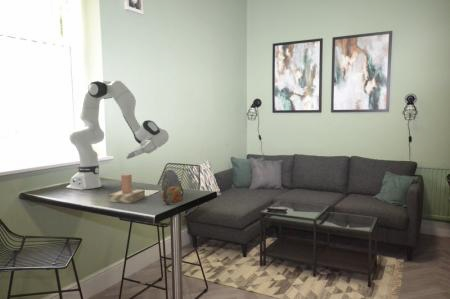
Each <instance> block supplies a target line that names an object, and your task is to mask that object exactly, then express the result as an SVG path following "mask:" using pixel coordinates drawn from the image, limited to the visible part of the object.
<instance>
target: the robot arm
mask: <svg viewBox="0 0 450 299" xmlns="http://www.w3.org/2000/svg"><path fill="white" fill-rule="evenodd" d="M107 99H113V100H114V101H115V103H116V104H117V106H118V107H119V110H120V111H121V114H122V116H123V118H124V120H125V122H126V124H127V125H128V127H129V129H130V130H131V132H132V134H133V138H134V140H135V141H136V143H138V144H139V145H140V146H138V147H136V148H134V149H133V150H130V151H129V152H128V153H127V155H126V156H125V159H126V160H129V159H133V158H135V157H138V156H139V155H143V154H147V155H148V154H151V153H154V151H156V150H157V149H158V148H160V147H162V146H164V145H165V144H166V143H167V142H168V141H169V139H170V138H169V136H170V135H169V133H168V131H167V130H166V129H164V128H161V127H159V126H158V125H157V124H156V123H155V122H154V121H153V120H150V119H149V120H148V119H147V120H144V121H143V122H142V124H140V123H139V122H138V120H137V118H136V115H135V109H136V105H137V104H136V103H137V100H136V98H135V96H134V94H133V92H132V91H131V90H130V89H129V88H128V86H126V85H125V83H123V82H122V81H121V80H113V81H108V80H94V81H91V82H89V84H88V85H87V89H86V90H85V91H84V92H83V94H82V98H81V101H80V102H81V103H80V114H79V118H80V119H81V121H83V124H84V127H83V128H76V129H74V130H72V131H71V132H70V134H69V140H70V143H71V144H72V145H73V146H74V147H75V148H76V149H77V152H78V155H79V157H78V158H79V165H80V166H79V167H76V169H77V171H78V172H76V173H75V174H74V175H73V176H71V178H70V180H69V184H68V185H67V186H65V187H66V189H73V190H81V191H82V190H89V189H90V190H91V189H96V188H97V189H98V188H101V187H102V182H101V177H100V166H99V159H98V153H97V152H96V151H95V150H94V149H93V146H92V145H96V144H98V143H100V142H103V140H104V139H105V132H104V130H103V129H102V128H101V126H100V122H99V120H100V119H99V117H100V116H99V113H100V103H101V100H107Z"/></svg>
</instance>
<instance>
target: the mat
mask: <svg viewBox="0 0 450 299" xmlns="http://www.w3.org/2000/svg"><path fill="white" fill-rule="evenodd" d="M144 190H145V197H151V196H153V195H154V194H157V193H160V190H156V189H155V190H153V189H144Z"/></svg>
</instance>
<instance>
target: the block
mask: <svg viewBox="0 0 450 299" xmlns="http://www.w3.org/2000/svg"><path fill="white" fill-rule="evenodd" d="M132 177H133V176H132V174H131V173H123V174H121V175H120V179H121V190H122V193H131V192H132V190H133V182H132V181H133V180H132Z"/></svg>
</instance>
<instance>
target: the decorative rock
mask: <svg viewBox="0 0 450 299" xmlns="http://www.w3.org/2000/svg"><path fill="white" fill-rule="evenodd" d="M173 186H181V187H182V188H183V186H182V183H181V180H180V179H179V176H178V174H177V173H176V172H175V171H174V170H172V169H169V170H167V171H165V172H164V174H163V176H162V180H161V187H160V188H161V190H162V191H163V192H164V190H165V189H167V188H170V187H173Z"/></svg>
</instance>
